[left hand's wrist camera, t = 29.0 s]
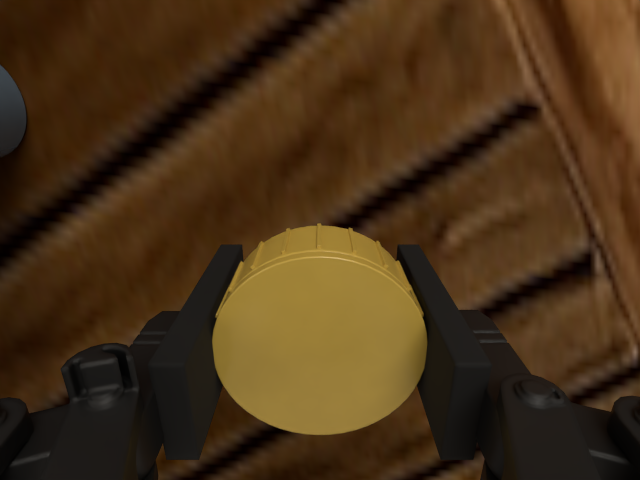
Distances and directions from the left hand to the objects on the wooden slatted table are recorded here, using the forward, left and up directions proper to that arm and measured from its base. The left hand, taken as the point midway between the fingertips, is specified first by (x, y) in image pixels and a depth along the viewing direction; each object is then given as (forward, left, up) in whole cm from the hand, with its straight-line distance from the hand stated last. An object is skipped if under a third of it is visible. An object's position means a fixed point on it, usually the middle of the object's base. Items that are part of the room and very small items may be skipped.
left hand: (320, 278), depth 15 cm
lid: (0, 0, +4) cm, 4 cm away
